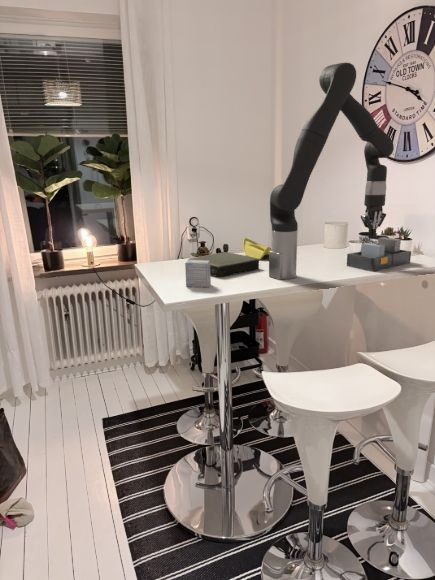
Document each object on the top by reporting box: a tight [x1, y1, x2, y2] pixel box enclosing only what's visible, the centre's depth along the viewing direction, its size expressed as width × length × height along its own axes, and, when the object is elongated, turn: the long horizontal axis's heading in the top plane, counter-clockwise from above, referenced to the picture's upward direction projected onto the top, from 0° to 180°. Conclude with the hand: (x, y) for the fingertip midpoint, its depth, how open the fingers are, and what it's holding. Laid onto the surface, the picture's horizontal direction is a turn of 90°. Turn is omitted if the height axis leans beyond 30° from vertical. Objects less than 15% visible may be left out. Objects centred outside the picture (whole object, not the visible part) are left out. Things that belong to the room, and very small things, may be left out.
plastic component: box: [242, 237, 271, 261], centre depth 196 cm, size 20×7×10 cm
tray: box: [346, 236, 412, 273], centre depth 172 cm, size 24×13×10 cm, turn 123°
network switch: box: [187, 251, 260, 278], centre depth 171 cm, size 23×24×5 cm
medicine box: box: [184, 260, 212, 288], centre depth 146 cm, size 8×4×9 cm, turn 78°
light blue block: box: [361, 242, 385, 258], centre depth 169 cm, size 4×8×8 cm, turn 33°
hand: (371, 238), depth 168 cm, fingers closed
